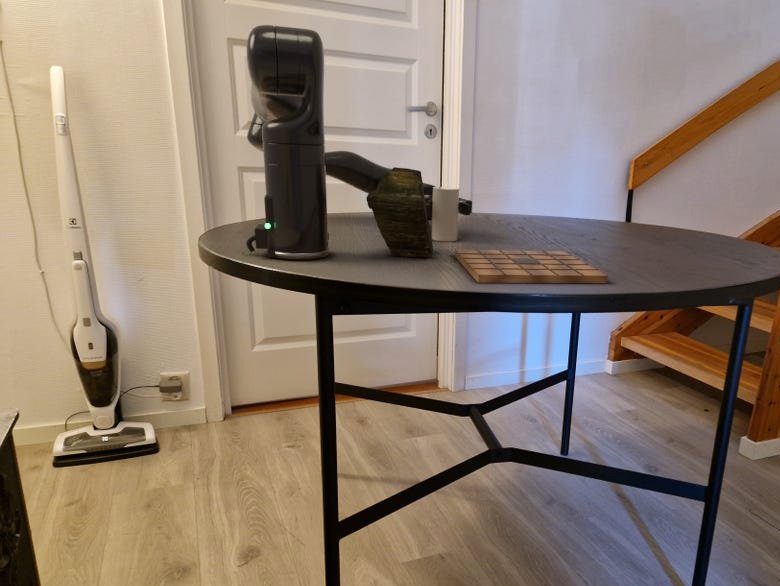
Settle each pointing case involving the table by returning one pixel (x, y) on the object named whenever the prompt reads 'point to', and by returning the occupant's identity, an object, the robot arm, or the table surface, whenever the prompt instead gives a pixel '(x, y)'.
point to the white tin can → (445, 213)
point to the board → (527, 267)
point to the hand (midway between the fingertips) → (448, 209)
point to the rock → (402, 213)
